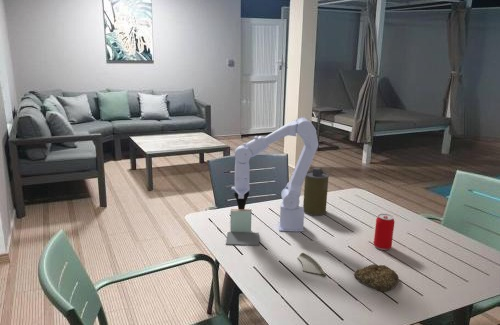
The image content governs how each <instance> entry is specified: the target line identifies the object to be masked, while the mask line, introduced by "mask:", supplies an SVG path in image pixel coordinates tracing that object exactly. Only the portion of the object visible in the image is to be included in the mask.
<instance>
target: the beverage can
mask: <svg viewBox="0 0 500 325" xmlns="http://www.w3.org/2000/svg"><path fill="white" fill-rule="evenodd" d="M374 228H375V229H374V238H373V246H374V247H376V248H377V249H379V250H382V251H387V250H390V249H391V248H392V245H393V238H394V228H395V219H394V216H393V215H391V214H387V213H378V215H377V217H376V220H375V227H374Z"/></svg>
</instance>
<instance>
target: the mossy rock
mask: <svg viewBox="0 0 500 325" xmlns="http://www.w3.org/2000/svg"><path fill="white" fill-rule="evenodd" d="M353 275H354V278H355V279H356V280H358V281H359V282H360V283H362V284H363V283H364V285H365V286H367V287H369V288H372V289H374V290H376V291H378V290H379V292H387V291H391V290H393V288H396V286H397V284H398V282H399V275H398V274H397V271H395V270H393V269H392V268H390V267H389V266H387V265H385V264H383V265H382V264H380V265H378V264H375V263H374V264H369V265H367V266H365V267H362V268H357V269H356V270H355V271H354V272H353Z"/></svg>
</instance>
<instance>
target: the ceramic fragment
mask: <svg viewBox="0 0 500 325" xmlns="http://www.w3.org/2000/svg"><path fill="white" fill-rule="evenodd" d="M296 259H297V260H298V261H299V262H300V263H301V265H302V272H304V273H308V274H311V275H312V274H313V275H318V274H319V276H322V275H323V277H325V276H326V277H327V275H326V273H325V271H324V270H323V268H322V266H321V265H320V264H319V262H318V261H317V260H316V259H314V258H313V257H312V256H310V255H309V254H307V253H306V252H301V253H300V254H299V256H297V257H296Z"/></svg>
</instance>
